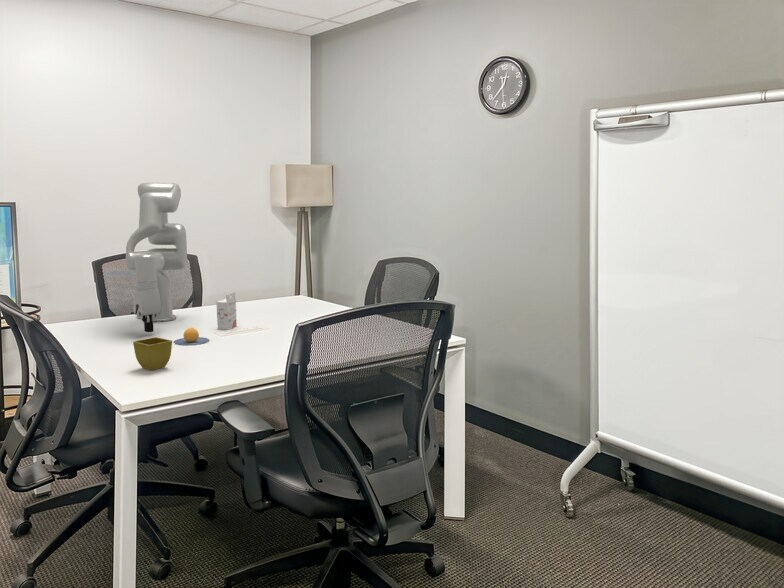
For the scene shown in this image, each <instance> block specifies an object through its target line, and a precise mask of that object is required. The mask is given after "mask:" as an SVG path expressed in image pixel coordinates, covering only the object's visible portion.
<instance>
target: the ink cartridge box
mask: <svg viewBox="0 0 784 588" xmlns="http://www.w3.org/2000/svg"><path fill="white" fill-rule="evenodd" d="M236 301H237V299H236V292H231V293H228V294H226V295H225V298H224V299H221V300H218V301H216V302H215V303H216V319H217V320H216V321H217V330H221V331H222V330H224V331H226V330H227V331H228V330H230V329H233V328H236V327H237V323H238V322H237V302H236Z"/></svg>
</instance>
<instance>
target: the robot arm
mask: <svg viewBox="0 0 784 588" xmlns="http://www.w3.org/2000/svg"><path fill="white" fill-rule="evenodd" d="M137 194H138V198H139V212H138V213H139V217H138V218H139V220H138V228H137V229H136V230H135V231H134V232H133V233H132V234H131V235H130V237H129V238H128V240H127V243H126V246H125V265H126V268H127V269H128V270H130V271H133V272H135V284H136V289H134V293H133V303H132V304H133V307H132V308H133V315H135V316H136V319H137V320H141V321H142V322H143V327H144V330H143V331H144V332H145V333H153V332H154V323H155V322H154V321H157V323H159V322H161V321H163V322H171V321H175V320H176V319H177V315H175V314H173V293H172V279H171V277H170V276H169V274H168V273H167V271H179V270H181V271H182V270H185V269H186V268H187V265H188V249H187V248H188V245H187V230H186V228H185V226H184V225H183V224H182V223H174V222H173V223H172V222H171V223H169V222H168V220H169V219H168V217H169V216H168V213H171V214H173V213H175V212H177V211H178V208H179V205H180V201H181V197H182V191H181V187H180V185H179V184H177V183H175V182H143V183H140V184H139V185H138V186H137ZM144 239H148V242H149V244H151V245H153V246H175V247H174V248H173V247H172V248H169V247H168V248H167V247H165V248H163V247H161V248H159V247H155V248H150V249H148V250H147V251H135V249H136V247H137V244H139V243H140V242H141V241H143V240H144ZM174 319H175V320H174Z"/></svg>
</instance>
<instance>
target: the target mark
mask: <svg viewBox="0 0 784 588" xmlns="http://www.w3.org/2000/svg"><path fill="white" fill-rule="evenodd" d="M209 342H210V339H209V338H207V337H202V336H201V337H200V336H199V337H198V339H197V340H196V341H195V342H187V341H186V340H185V339H184V337H181V338H178V339H175V340H173V344H174V343H175V344H174V345H177V344H178V345H179V346H197V345H204V344H206V343H209Z"/></svg>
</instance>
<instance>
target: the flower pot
mask: <svg viewBox="0 0 784 588" xmlns="http://www.w3.org/2000/svg"><path fill="white" fill-rule="evenodd" d="M132 345H133V349H134V354H135V358H136V360H137V362H138V364H139V365H140V367H141V368H142V369H145V370H147V371H148V370H149V371H156V370H159V369H164V368H165V367H166V366H167V365H168V364H169V361H170V360H171V359H170V358H171V355H172V349H173V348H172V347H173V340H171V339H167V338H162V337H158V336H157V337H149V338H144V339H139V340H134V341H132Z"/></svg>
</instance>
